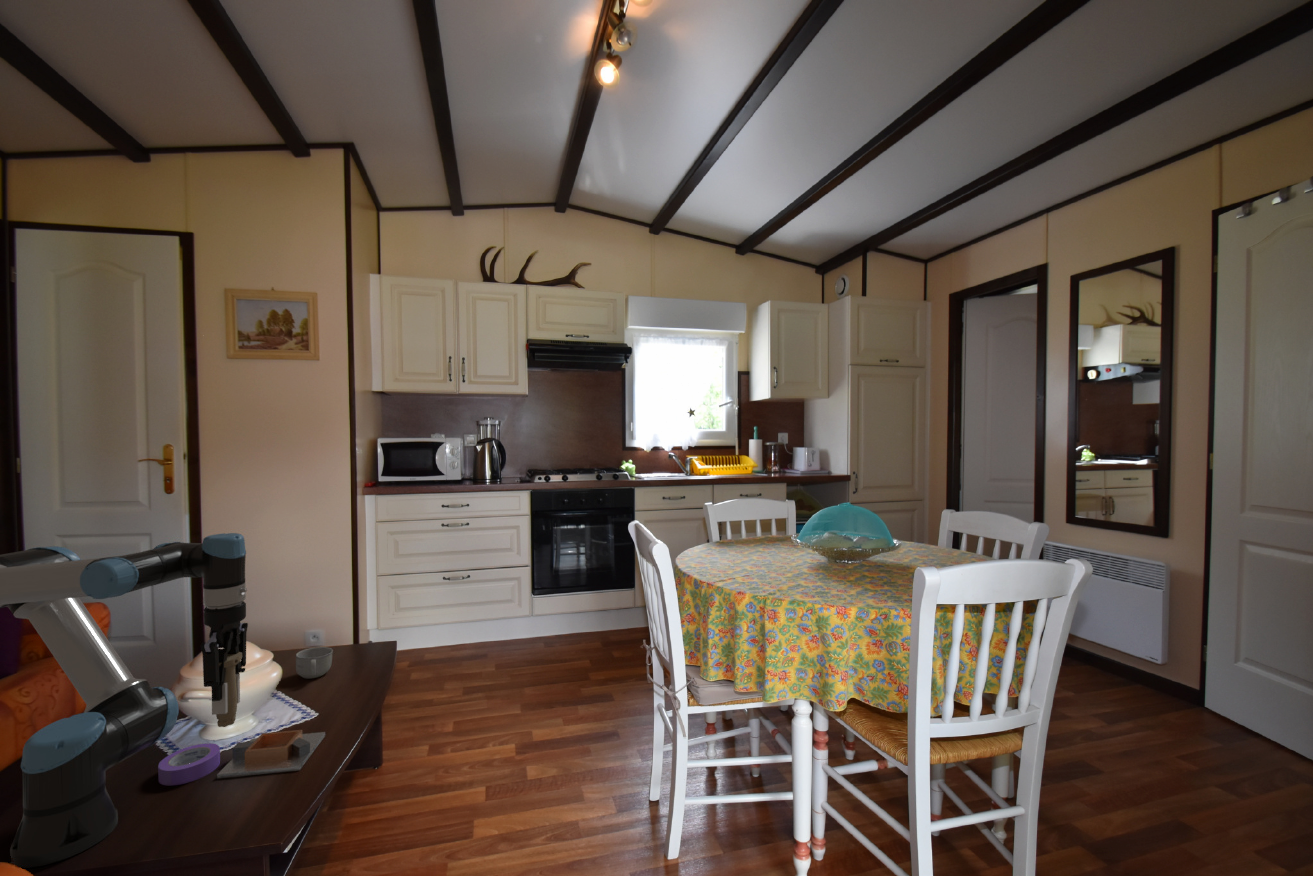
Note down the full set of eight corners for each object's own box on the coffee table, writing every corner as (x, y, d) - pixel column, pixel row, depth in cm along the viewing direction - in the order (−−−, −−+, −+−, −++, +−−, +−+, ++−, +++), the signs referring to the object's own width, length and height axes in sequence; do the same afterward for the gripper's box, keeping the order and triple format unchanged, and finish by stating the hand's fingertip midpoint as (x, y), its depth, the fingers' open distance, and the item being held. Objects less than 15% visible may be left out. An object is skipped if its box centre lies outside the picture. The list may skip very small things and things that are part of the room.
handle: (204, 731, 123) (203, 663, 122) (227, 716, 129) (227, 651, 129) (225, 732, 122) (224, 663, 122) (248, 717, 129) (247, 652, 129)
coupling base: (217, 778, 135) (216, 762, 135) (251, 742, 151) (251, 727, 151) (299, 770, 138) (299, 754, 138) (325, 735, 154) (325, 721, 154)
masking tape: (144, 786, 132) (144, 770, 132) (186, 757, 144) (186, 742, 144) (193, 786, 132) (193, 770, 132) (231, 757, 144) (231, 743, 144)
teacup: (301, 670, 196) (301, 647, 196) (336, 666, 199) (336, 644, 199) (288, 688, 183) (288, 663, 182) (326, 683, 186) (325, 659, 186)
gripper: (220, 615, 117) (221, 726, 118) (263, 592, 134) (265, 689, 135) (180, 617, 116) (181, 729, 117) (229, 593, 133) (230, 691, 133)
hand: (226, 708), depth 126 cm, fingers closed on handle, 4 cm apart
